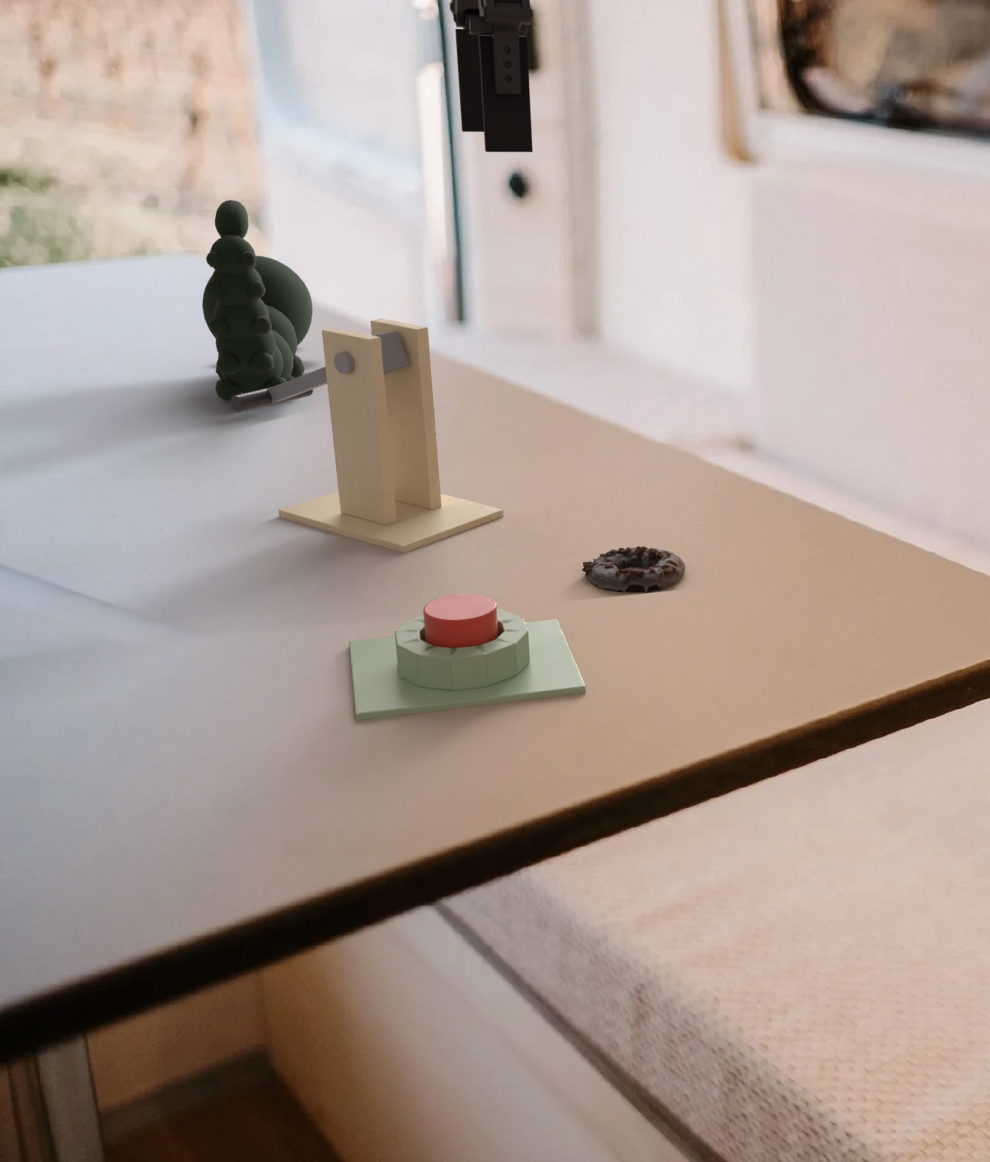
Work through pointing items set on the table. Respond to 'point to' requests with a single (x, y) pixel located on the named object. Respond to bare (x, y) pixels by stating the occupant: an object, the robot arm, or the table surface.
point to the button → (460, 621)
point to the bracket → (385, 447)
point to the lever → (317, 378)
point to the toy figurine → (252, 310)
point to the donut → (658, 576)
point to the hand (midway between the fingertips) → (495, 141)
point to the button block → (461, 669)
